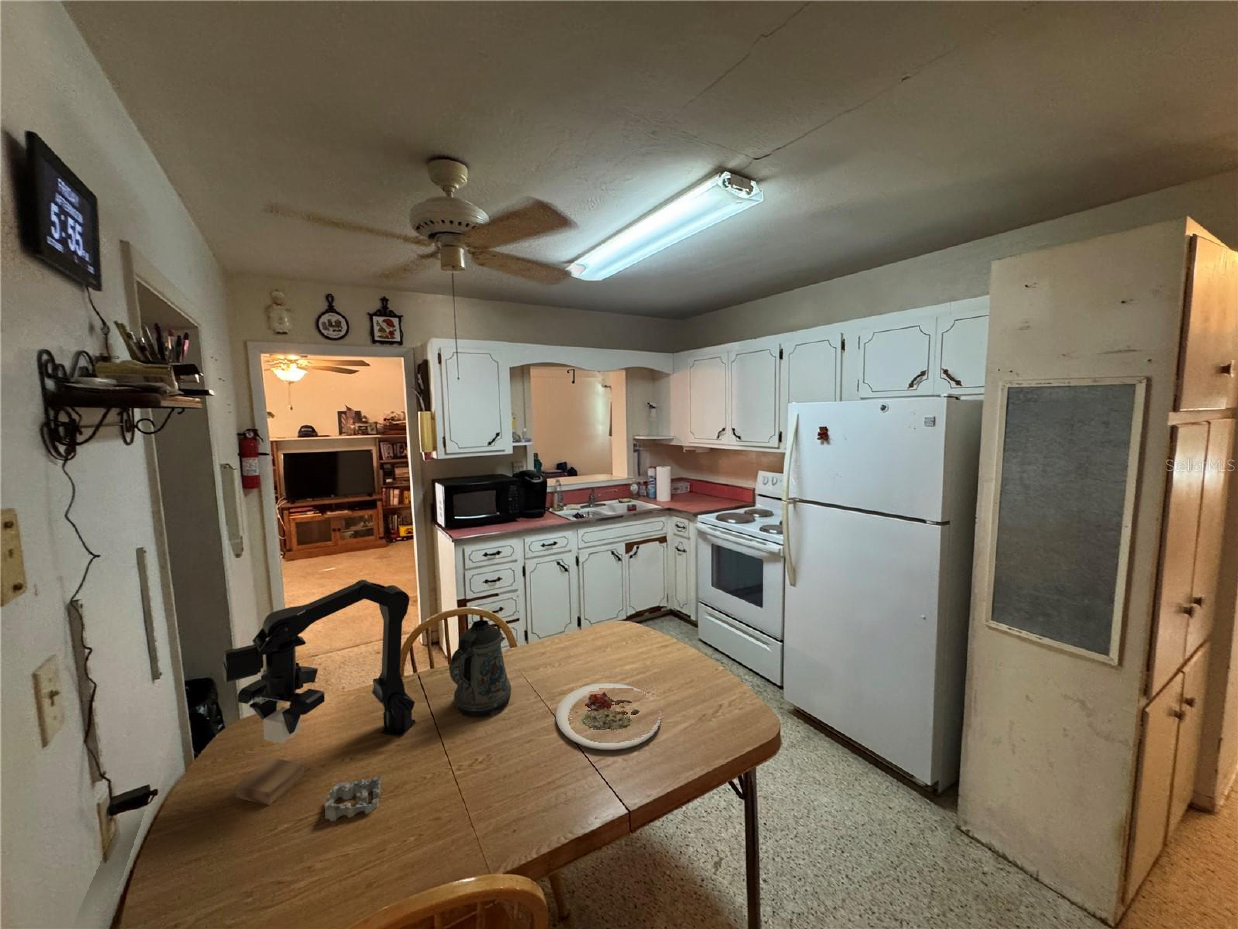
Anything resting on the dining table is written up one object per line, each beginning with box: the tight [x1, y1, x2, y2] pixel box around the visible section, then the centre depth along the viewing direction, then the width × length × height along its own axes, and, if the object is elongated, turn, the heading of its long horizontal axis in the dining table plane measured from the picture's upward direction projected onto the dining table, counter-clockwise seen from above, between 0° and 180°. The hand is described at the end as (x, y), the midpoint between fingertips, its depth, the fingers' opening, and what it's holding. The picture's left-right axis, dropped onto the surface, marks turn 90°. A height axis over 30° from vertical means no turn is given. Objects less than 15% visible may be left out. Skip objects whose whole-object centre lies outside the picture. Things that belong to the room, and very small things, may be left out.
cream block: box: [262, 706, 302, 745], centre depth 114 cm, size 5×5×5 cm
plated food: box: [555, 682, 662, 751], centre depth 140 cm, size 30×30×3 cm
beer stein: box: [448, 619, 512, 719], centre depth 143 cm, size 16×19×25 cm
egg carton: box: [323, 775, 382, 822], centre depth 107 cm, size 11×8×4 cm
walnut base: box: [235, 757, 305, 806], centre depth 112 cm, size 9×9×3 cm
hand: (282, 731), depth 114 cm, fingers closed on cream block, 5 cm apart
